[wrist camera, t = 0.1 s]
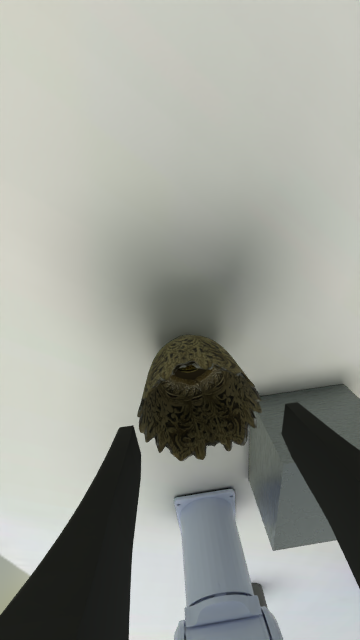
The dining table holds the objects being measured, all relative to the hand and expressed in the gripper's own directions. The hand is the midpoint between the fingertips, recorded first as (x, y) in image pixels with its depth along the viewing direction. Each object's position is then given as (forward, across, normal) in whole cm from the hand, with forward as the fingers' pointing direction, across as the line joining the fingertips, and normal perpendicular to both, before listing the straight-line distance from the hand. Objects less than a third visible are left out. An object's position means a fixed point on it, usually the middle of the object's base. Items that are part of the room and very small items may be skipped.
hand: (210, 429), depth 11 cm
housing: (+10, -11, +16) cm, 22 cm away
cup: (+10, 0, +2) cm, 10 cm away
